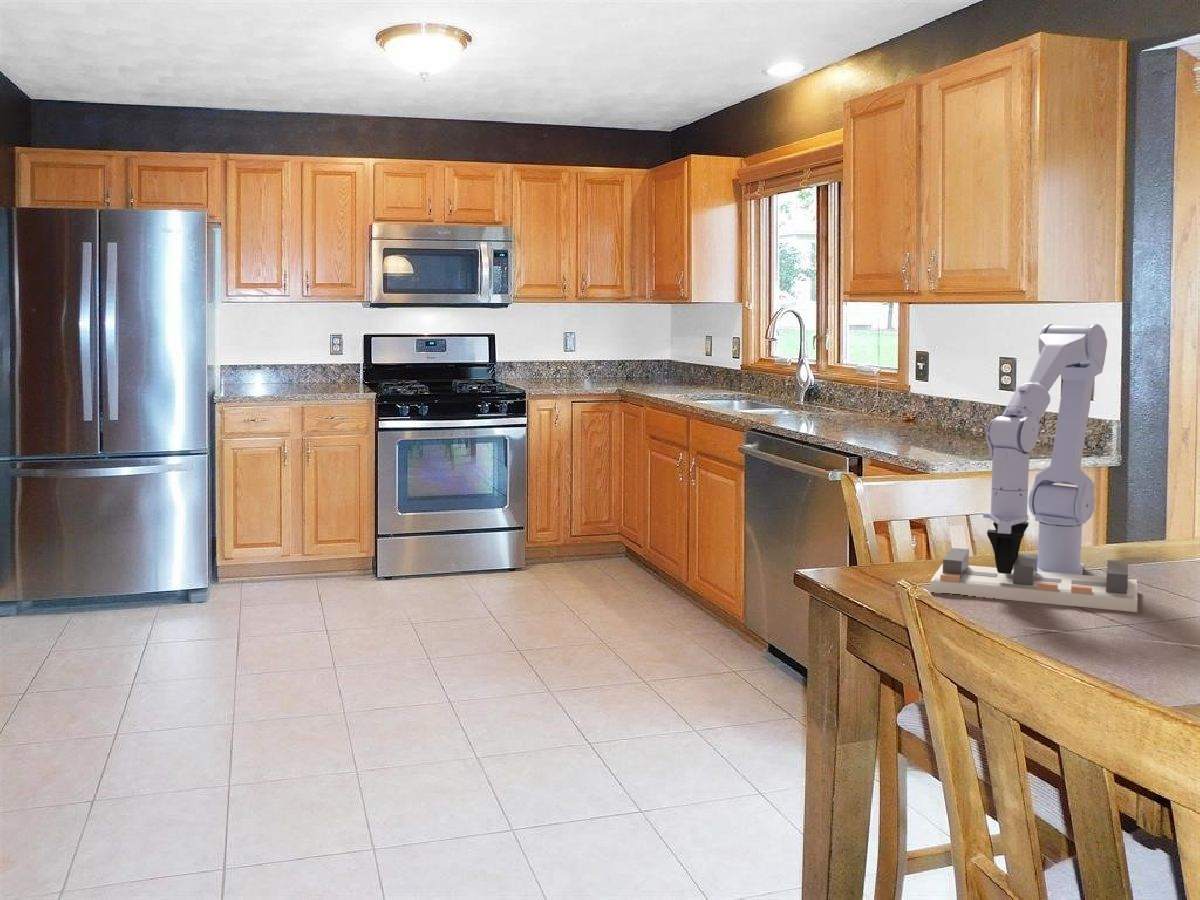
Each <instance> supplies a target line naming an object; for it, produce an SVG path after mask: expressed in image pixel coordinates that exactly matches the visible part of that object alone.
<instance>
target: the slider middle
mask: <svg viewBox="0 0 1200 900" xmlns="http://www.w3.org/2000/svg"><path fill="white" fill-rule="evenodd" d="M1037 560H1038V555H1037V554H1036V553H1035V554H1034V553H1032V554H1031V553H1023V552H1022V553H1020V552H1019V553H1018V557H1017V559H1016V561H1015V564H1014V566H1013V569H1014V572H1013V583H1015V584H1026V585H1033V583H1034V580H1035V576H1036V573H1037Z"/></svg>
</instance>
